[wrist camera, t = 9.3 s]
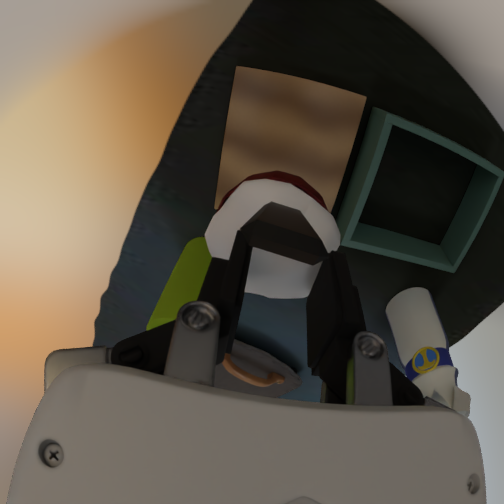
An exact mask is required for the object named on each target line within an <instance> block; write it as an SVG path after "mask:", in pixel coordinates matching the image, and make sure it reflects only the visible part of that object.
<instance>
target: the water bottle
mask: <svg viewBox="0 0 504 504" xmlns="http://www.w3.org/2000/svg"><path fill="white" fill-rule="evenodd" d="M386 317H387V320H388V322H389V325H390V328H391V331H392V334H393V338H394V341H395V345H396V349H397V352H398V356H399V360H400V363H401V365H402V367H403V369H404V370H405V372H406V377H407V378H408V379H409V380H410V381H412V382H413V383H414V384H415V385H416V386H417V387H418V388H419V389H420V390H421V392H422V394H423V398H425V397H426V396H428V397H430V398H432V399H434V400H435V401H437V402H439V403H441V404H443V405H445V406H447V407H449V408H451V409H453V410H455V411H457V412H459V413H461V414H463V415H465V416H466V417H468V416H469V413H470V400H471V399H470V395H469V394H468V393H466V392H464V391H462V390H461V389H459V388H458V387H457V377H458V369H457V368H455V367H454V366H453V363H452V360H451V357H450V354H449V343H448V339H447V336H446V333H445V331H444V328H443V325H442V323H441V320H440V317H439V315H438V312H437V309H436V306H435V303H434V301H433V298H432V295H431V293H430V292H429V291H428V290H427V289H425V288H421V287H414V288H409V289H406V290H404V291H402V292H400V293H398V294H397V295H396V296H394V297H393V298H392V299H391V300H390V302H389V303H388V305H387V307H386Z"/></svg>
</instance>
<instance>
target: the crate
mask: <svg viewBox="0 0 504 504" xmlns="http://www.w3.org/2000/svg"><path fill="white" fill-rule="evenodd" d="M392 124H393V125H395V126H398V127H400V128H403V129H405V130H408V131H410V132H412V133H415V134H417V135H419V136H422V137H424V138H426V139H428V140H431V141H433V142H435V143H437V144H439V145H441V146H443V147H446V148H448V149H450V150H452V151H454V152H456V153H458V154H459V155H461V156H463V157H465V158H467V159H469V160H471V161H473V162H474V163H476V164H477V166H476V169H475V171H474V174H473V176H472V179H471V181H470V183H469V186H468V188H467V190H466V193H465V195H464V197H463V199H462V202H461V204H460V206H459V208H458V210H457V212H456V214H455V216H454V218H453V220H452V222H451V224H450V226H449V228H448V230H447V232H446V234H445V236H444V238H443V240H442V242H441V244H440V245H436V244H433V243H430V242H427V241H423V240H420V239H417V238H413V237H410V236H406V235H403V234H399V233H396V232H392V231H389V230H385V229H381V228H378V227H374V226H370V225H367V224H363V223H359V222H358V220H359V218H360V215H361V213H362V210H363V207H364V205H365V202H366V200H367V197H368V194H369V192H370V189H371V186H372V184H373V181H374V178H375V175H376V173H377V170H378V167H379V164H380V161H381V158H382V155H383V152H384V149H385V146H386V143H387V140H388V137H389V134H390V131H391V128H392ZM503 177H504V172H503V171H502V170H501V169H499V168H498V167H496V166H495V165H493V164H492V163H490V162H489V161H487V160H486V159H484V158H483V157H481V156H479V155H478V154H476V153H474V152H472V151H471V150H469V149H467V148H465V147H463V146H462V145H460V144H458V143H456V142H454V141H452V140H450V139H448V138H446V137H444V136H442V135H440V134H438V133H436V132H434V131H432V130H430V129H427V128H425V127H423V126H421V125H419V124H416V123H414V122H412V121H409V120H407V119H405V118H402V117H400V116H397V115H395V114H392V113H390V112H387V111H384V110H382V109H379V108H376V107H372V110H371V114H370V117H369V121H368V124H367V127H366V131H365V134H364V137H363V141H362V144H361V147H360V150H359V153H358V156H357V160H356V163H355V166H354V169H353V172H352V175H351V178H350V181H349V184H348V187H347V190H346V192H345V195H344V198H343V201H342V204H341V207H340V209H339V212H338V215H337V218H336V221H335V222H336V224H337V227H338V229H339V232H340V234H341V235H340V245H343V246H347V247H351V248H355V249H360V250H364V251H368V252H372V253H376V254H381V255H385V256H389V257H393V258H397V259H401V260H405V261H409V262H413V263H417V264H421V265H425V266H429V267H433V268H437V269H440V270H444V271H448V272H452V273H455V271H456V269H457V268H458V266H459V264H460V263H461V261H462V259H463V258H464V256H465V254H466V253H467V251H468V249H469V247H470V246H471V244H472V242H473V240H474V238H475V237H476V235H477V233H478V231H479V229H480V227H481V225H482V223H483V221H484V219H485V217H486V215H487V213H488V211H489V209H490V207H491V205H492V203H493V200H494V198H495V196H496V194H497V192H498V189H499V187H500V185H501V182H502V179H503Z"/></svg>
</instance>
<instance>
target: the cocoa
mask: <svg viewBox="0 0 504 504" xmlns="http://www.w3.org/2000/svg"><path fill="white" fill-rule="evenodd" d="M237 230H241V232H242V234H243V235H244V237H245V239H246V241H247V243H248V245H249V246H252V247H253V249H252V254H251V260H250V265H249V270H248V276H247V281H246V286H245V292H249V293H254V294H259V295H263V296H266V297H268V298H304V297H307V296H308V295H309V293H310V291H311V288H312V286H313V284H314V281H315V279H316V276H317V274H318V271H319V269H320V267H321V264H322V262H323V260H325V259H327V258H329V257H330V256H329V254H328V253H330V252H331V251H332V250H333V251H336V250H337V249H338V247H339V245H340V235H341V234H340V232H339V229H338V227H337V224H336V222H335V220H334V217H333V216H332V215H331V214H330V213H329V212H328V209H327V207H326V204H325V202H324V199H323V197H322V196H321V194H320V193H319V192H318V191H316V190H315V189H314V188H313V187H312V186H311V185H310V184H308V183H307V182H306V181H305V180H304V179H303V178H301V177H300V176H297V175H293V174H290V173H286V172H282V171H279V170H276V171H270V172H264V173H259V174H253V175H251V176H248V177H247V178H246V179H244V180H243V181H242V182H240V183H239V184H238V185H236V186H235V187H234V188H232V189H231V190H230V191H228V192H227V194H226V195H225V196H224V197H223V198H222V200H221V203H220V205H219V207H218V209H217V212H216V214H215V215H214V216H213V218H212V220H211V222H210V224H209V226H208V228H207V230H206V233H205V239H206V242H207V246H208V249H209V252H210V254H211V256H212V257H217V258H222V259H227V260H229V258H230V254H231V251H232V247H233V244H234V240H235V237H236V233H237Z"/></svg>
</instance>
